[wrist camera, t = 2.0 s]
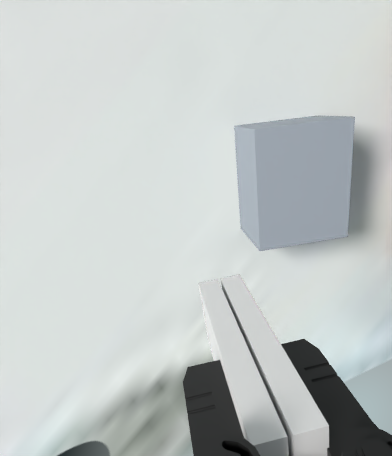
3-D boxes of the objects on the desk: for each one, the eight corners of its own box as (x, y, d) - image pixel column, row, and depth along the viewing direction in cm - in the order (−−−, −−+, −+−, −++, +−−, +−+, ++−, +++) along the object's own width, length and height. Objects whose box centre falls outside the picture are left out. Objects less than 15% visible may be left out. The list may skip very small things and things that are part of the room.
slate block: (233, 125, 30) (254, 129, 24) (316, 115, 31) (354, 116, 25) (240, 227, 33) (259, 251, 28) (314, 216, 34) (347, 236, 29)
